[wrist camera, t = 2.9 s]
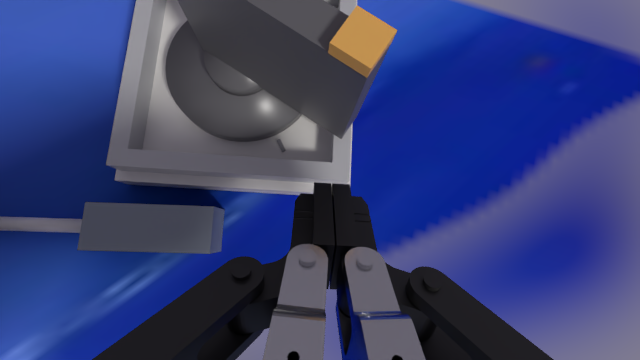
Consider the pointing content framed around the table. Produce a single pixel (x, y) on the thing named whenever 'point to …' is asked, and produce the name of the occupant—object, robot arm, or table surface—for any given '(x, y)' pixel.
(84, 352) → the table surface
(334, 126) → the dial
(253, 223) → the table surface
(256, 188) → the panel
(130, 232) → the screwdriver
